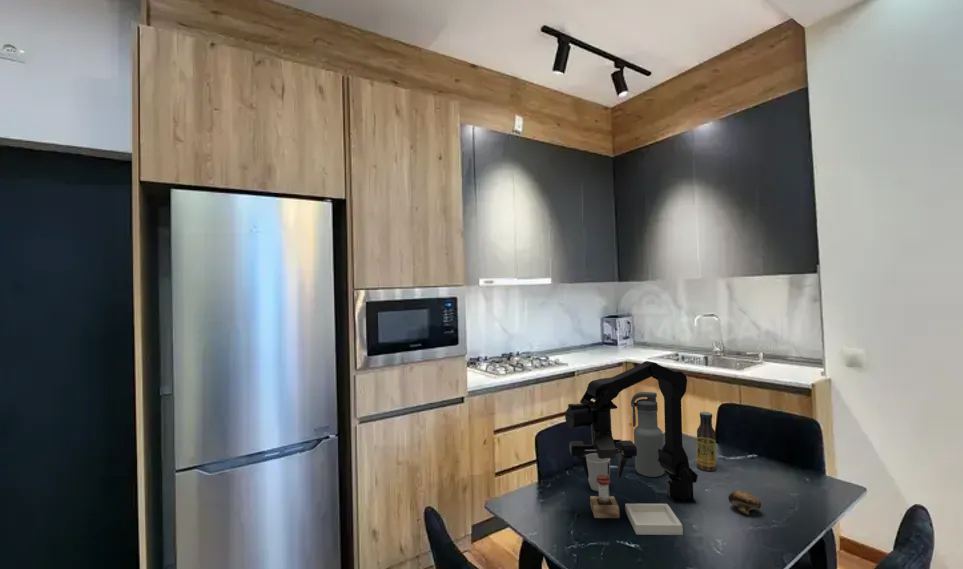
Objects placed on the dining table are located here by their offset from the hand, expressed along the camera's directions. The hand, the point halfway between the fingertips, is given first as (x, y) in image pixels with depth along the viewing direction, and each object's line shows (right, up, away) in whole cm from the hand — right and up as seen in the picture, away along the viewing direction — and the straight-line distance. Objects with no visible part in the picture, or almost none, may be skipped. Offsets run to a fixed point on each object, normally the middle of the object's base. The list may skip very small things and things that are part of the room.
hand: (603, 477), depth 130 cm
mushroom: (+40, -9, -3) cm, 41 cm away
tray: (+12, -10, -7) cm, 17 cm away
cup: (+3, -11, +16) cm, 19 cm away
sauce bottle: (+45, -9, +28) cm, 54 cm away
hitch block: (0, -10, 0) cm, 10 cm away
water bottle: (+24, -10, +27) cm, 37 cm away
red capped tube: (0, -10, 0) cm, 10 cm away
